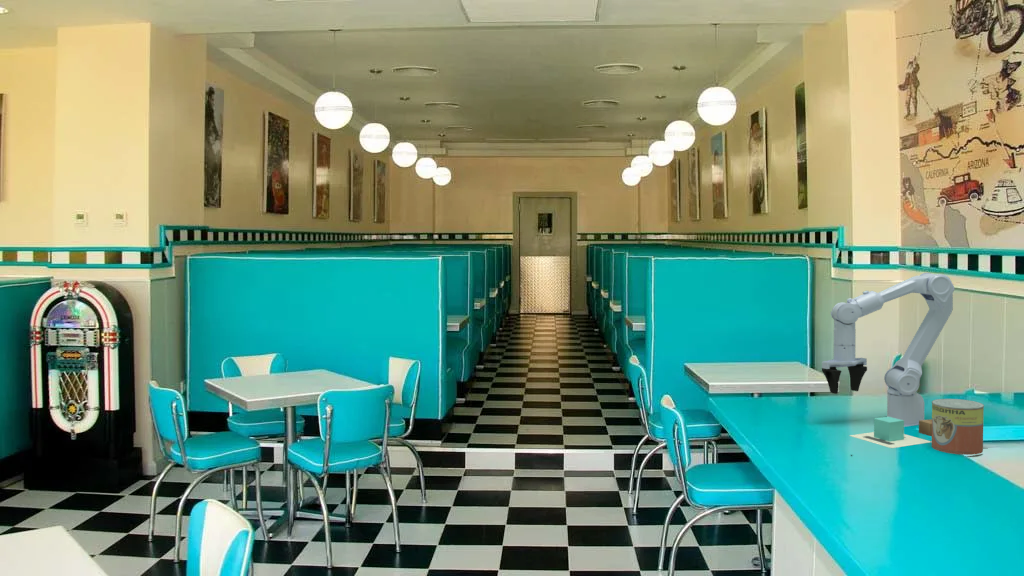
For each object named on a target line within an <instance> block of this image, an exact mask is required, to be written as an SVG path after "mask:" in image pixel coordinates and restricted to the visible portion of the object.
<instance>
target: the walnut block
mask: <svg viewBox="0 0 1024 576" xmlns="http://www.w3.org/2000/svg"><path fill="white" fill-rule="evenodd" d="M918 433H919V434H922V435H926V436H929V437H932V418H929V419H924V420H919V425H918Z"/></svg>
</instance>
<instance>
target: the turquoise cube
mask: <svg viewBox="0 0 1024 576" xmlns="http://www.w3.org/2000/svg"><path fill="white" fill-rule="evenodd" d="M873 420H874V421H873V432H874V437H875V438H879V439H882V440H886V441H889V442H890V441H896V440H903V439H904V434H905V427H904V420H900V419H896V418H892V417H887V416H883V417H876V418H875V417H874V418H873Z"/></svg>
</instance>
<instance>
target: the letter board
mask: <svg viewBox="0 0 1024 576" xmlns="http://www.w3.org/2000/svg"><path fill="white" fill-rule="evenodd" d="M848 436H849V437H852V438H855V439H858V440H862V441H866V442H869V443H873V444H877V445H879V446H882V447H886V448H888V449H895V448H901V447H907V446H908V447H909V446H914V445H922V444H928V443H929V444H930V443H932V440H931V441H930V440H927V439H924V438H920V437H916V436H913V435H909V434H905V433H904V439H903V440H896V441H890V442H889V441H886V440H882V439H879V438H875V437H874V431H871V432H866V433H865V432H864V433H858V434H850V435H848Z"/></svg>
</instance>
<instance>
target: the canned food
mask: <svg viewBox="0 0 1024 576" xmlns="http://www.w3.org/2000/svg"><path fill="white" fill-rule="evenodd" d="M984 407H985V405H984V404H983V403H982V402H978V401H974V400H969V399H962V398H961V399H960V398H959V399H958V398H936V399H934V400H932V401H931V419H932V436H931V441H932V442H931V447H932V449H933V450H935V451H939V452H943V453H947V454H952V455H953V454H955V455H965V456H966V458H978V457H982V456H983V455H984V453H983V452H984Z"/></svg>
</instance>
